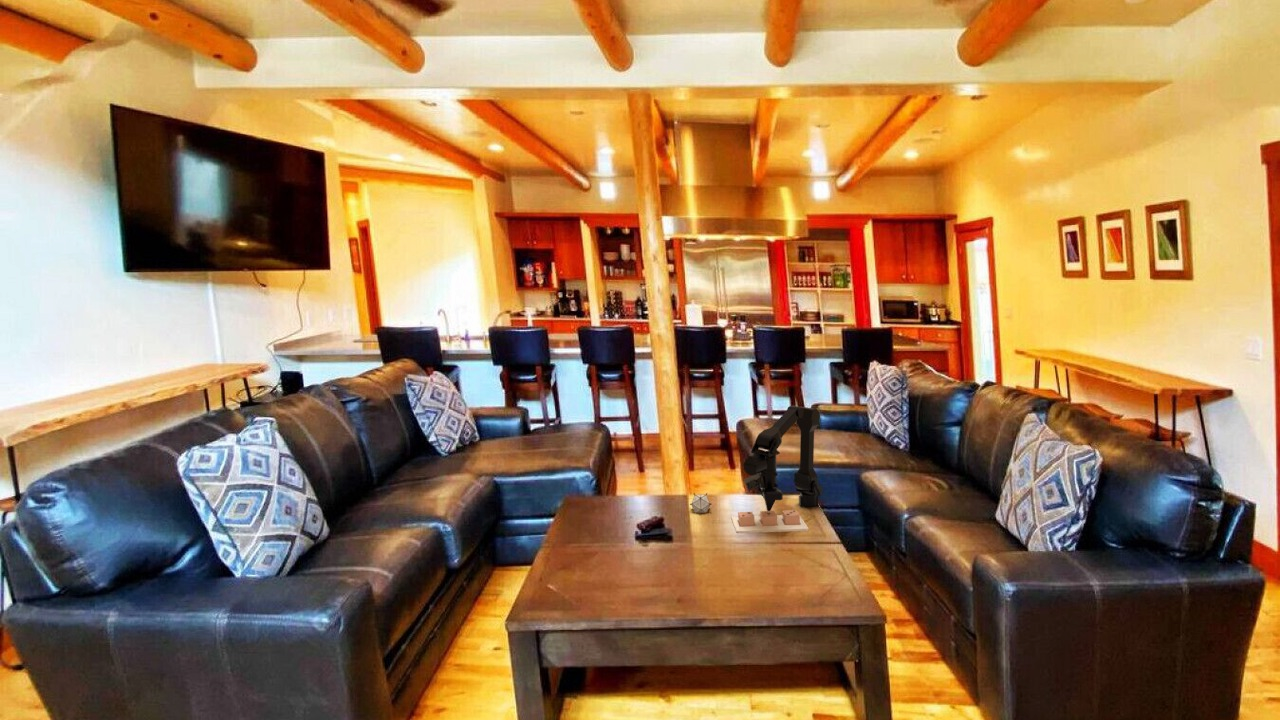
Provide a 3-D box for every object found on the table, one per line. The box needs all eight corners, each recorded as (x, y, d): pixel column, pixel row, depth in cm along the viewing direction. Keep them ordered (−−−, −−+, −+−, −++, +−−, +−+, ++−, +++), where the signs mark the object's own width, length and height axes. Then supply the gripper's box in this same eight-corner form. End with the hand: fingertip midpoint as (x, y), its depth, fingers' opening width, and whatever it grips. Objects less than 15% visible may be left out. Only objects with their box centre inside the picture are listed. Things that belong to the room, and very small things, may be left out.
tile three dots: (796, 520, 219) (796, 509, 218) (799, 526, 214) (799, 515, 213) (782, 521, 219) (782, 510, 218) (785, 526, 214) (785, 515, 213)
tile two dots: (752, 522, 219) (752, 511, 218) (754, 527, 214) (754, 516, 213) (738, 522, 219) (738, 511, 218) (740, 528, 214) (740, 517, 214)
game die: (696, 523, 233) (681, 500, 235) (713, 511, 236) (699, 489, 238) (702, 519, 225) (687, 496, 227) (720, 507, 227) (705, 484, 230)
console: (799, 519, 223) (799, 514, 223) (808, 534, 210) (808, 528, 210) (731, 521, 223) (731, 516, 223) (736, 536, 210) (736, 531, 210)
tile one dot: (774, 521, 219) (774, 510, 218) (777, 526, 214) (777, 515, 213) (760, 521, 219) (760, 511, 218) (763, 527, 214) (762, 516, 213)
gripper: (741, 461, 223) (742, 502, 225) (749, 477, 205) (750, 521, 207) (771, 460, 223) (771, 500, 225) (782, 476, 204) (783, 520, 206)
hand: (768, 510), depth 216 cm, fingers closed
